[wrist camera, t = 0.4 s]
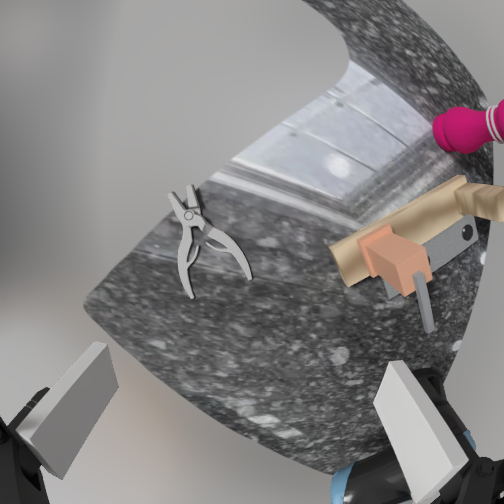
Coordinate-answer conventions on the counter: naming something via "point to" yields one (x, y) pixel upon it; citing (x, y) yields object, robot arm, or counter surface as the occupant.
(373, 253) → the slide leg
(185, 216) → the pliers
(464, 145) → the pepper mill
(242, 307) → the counter surface
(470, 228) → the hole plate
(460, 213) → the rail
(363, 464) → the robot arm
